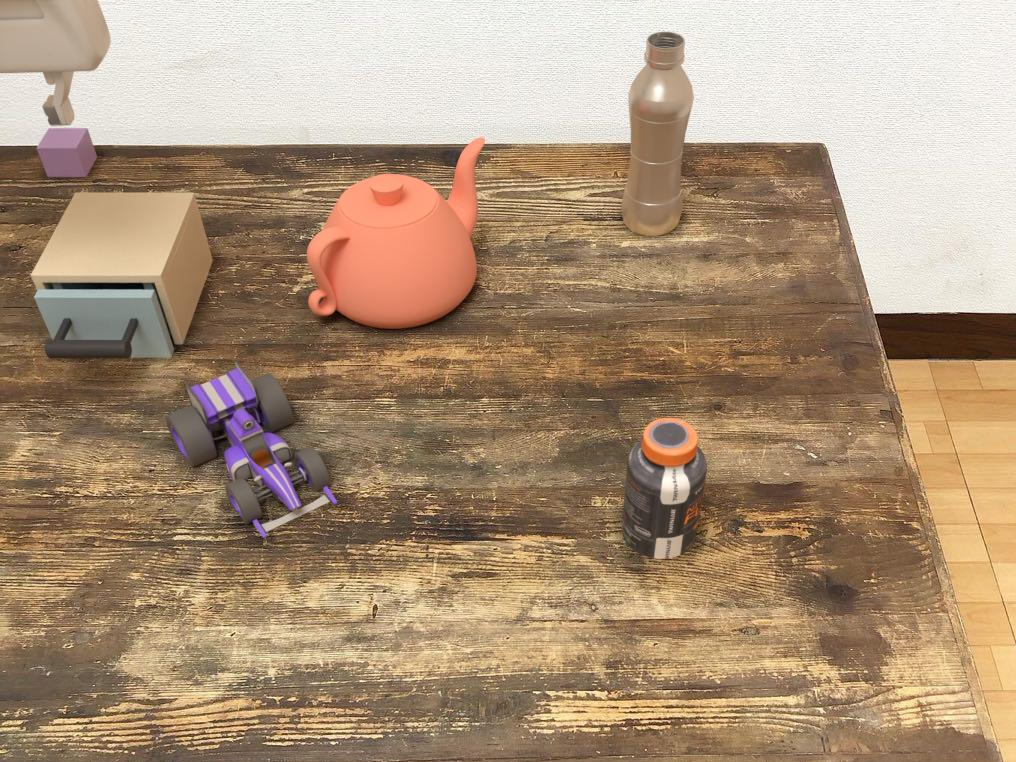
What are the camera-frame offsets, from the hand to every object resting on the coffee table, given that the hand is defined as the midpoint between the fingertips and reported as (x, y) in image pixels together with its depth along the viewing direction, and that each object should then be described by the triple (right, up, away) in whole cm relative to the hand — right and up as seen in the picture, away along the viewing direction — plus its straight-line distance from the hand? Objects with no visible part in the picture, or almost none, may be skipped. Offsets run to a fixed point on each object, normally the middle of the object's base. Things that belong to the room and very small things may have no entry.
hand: (4, 123), depth 84 cm
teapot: (+29, -8, +24) cm, 38 cm away
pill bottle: (+52, -33, +2) cm, 61 cm away
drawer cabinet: (+3, -10, +22) cm, 24 cm away
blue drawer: (+3, -13, +18) cm, 22 cm away
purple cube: (-11, +9, +38) cm, 41 cm away
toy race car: (+19, -27, +7) cm, 34 cm away
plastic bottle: (+54, 0, +31) cm, 62 cm away
